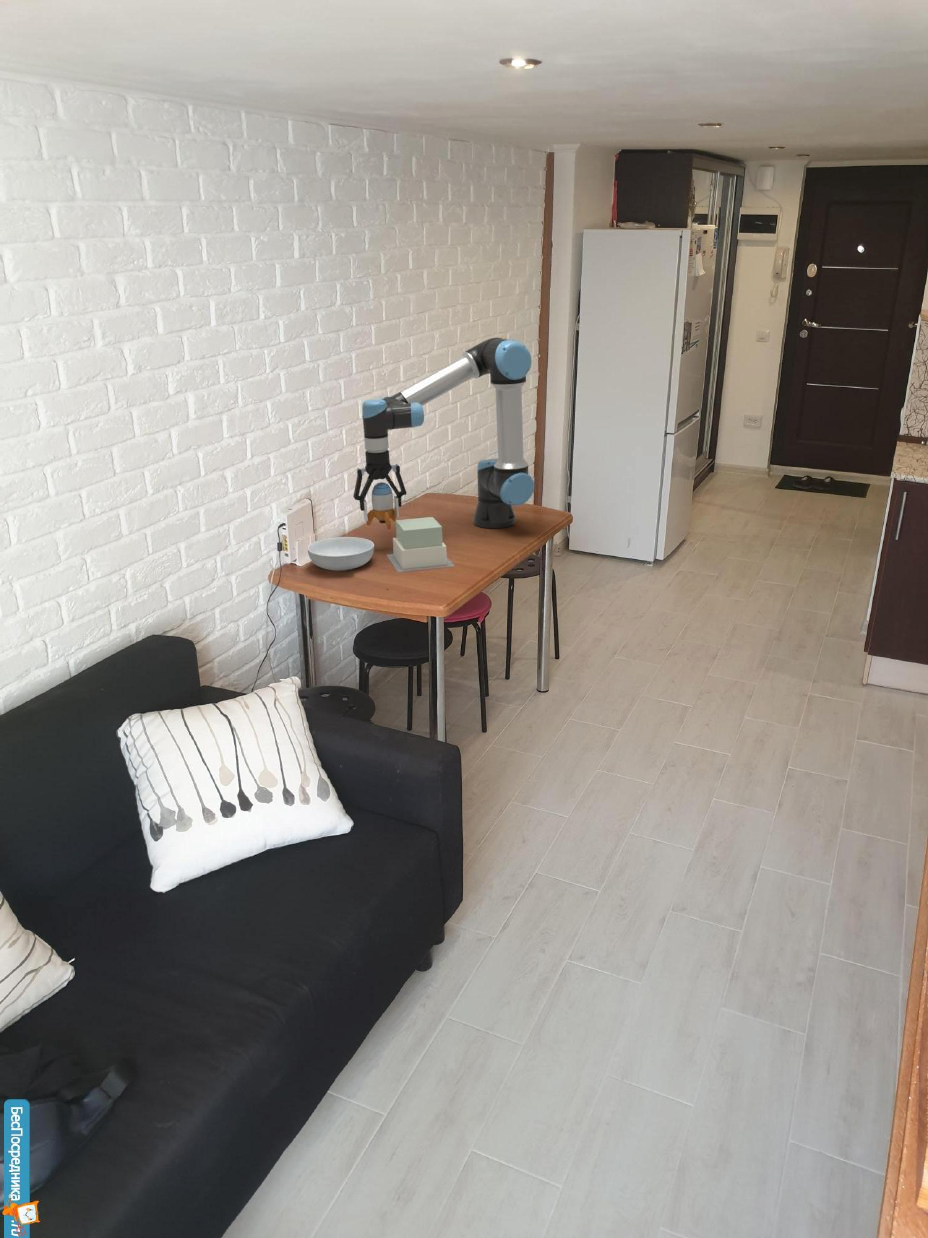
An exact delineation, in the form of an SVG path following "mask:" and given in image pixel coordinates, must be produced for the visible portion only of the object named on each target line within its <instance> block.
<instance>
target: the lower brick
mask: <svg viewBox="0 0 928 1238" xmlns="http://www.w3.org/2000/svg"><path fill="white" fill-rule="evenodd" d="M442 544H443V546H434V547H424V548H414V549H404V548H403V547H402V545H401V544H400V543H399V541H398V540H397V537H393V538H392V545H393V546H392V548H393V554H394V557H395V559H396V560H397V561H398V563H399V564H400V566H401V567H402V569H411V568H420V567H430V566H439V565H447V558H448V556H447V555H448V553H447V546H446V543H444V542H443V541H442Z"/></svg>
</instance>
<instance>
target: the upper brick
mask: <svg viewBox="0 0 928 1238" xmlns="http://www.w3.org/2000/svg"><path fill="white" fill-rule="evenodd" d="M395 530H396V531H395V533H396V537H395V538H397V540H398V541H399V543H400V544H401V545H402V547H403V548H404V549H414V548H424V547H434V546H443V544H442V542H443V526H442V525H441V524H440V523H439V522H438V521H437V520H436V519H435V518H434V517H433V516H427V517H420V518H419V517H417V518H408V519H406V518H405V519H396V521H395Z"/></svg>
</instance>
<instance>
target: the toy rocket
mask: <svg viewBox="0 0 928 1238" xmlns="http://www.w3.org/2000/svg"><path fill="white" fill-rule="evenodd" d="M371 506H372V509H371V510H369V511H367V515H368V521H365V522H366V524H367V526H370V525H371V524H372V522H373V520H374V519H377V520H378V521H379V524H385V525H386V528H387V530H391V529H392V524H391V522H395V523H396V520H397V517H396V516H395V508H394V494H393V489H392V487H391V486H390V484H389V483H387V482H383V481H382V482H377V483H376V484H374V486H373V488H372V492H371ZM391 520H392V521H391Z"/></svg>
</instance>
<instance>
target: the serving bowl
mask: <svg viewBox="0 0 928 1238" xmlns="http://www.w3.org/2000/svg"><path fill="white" fill-rule="evenodd" d="M374 552H375V544H374V542H373V541H372V540H370V539H367V538H364V537H356V536H355V537H354V536H339V537H329V538H328V537H327V538H324V539H320V540H316V541H314V542H312V543H310V544H308V546H307V554H308V557H309V559H310V560H311V562H312V563H313V564H314V565H316V566H317V567H319V568H321V569H325V570H328V571H329V570H330V571H335V572H344V571H345V572H346V571H350V570H354V569H357V568H360V567H362V566H364V565H366V564H367V563H368V562H369V561H370V560H371V558H372V557H373V556H374Z"/></svg>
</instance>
